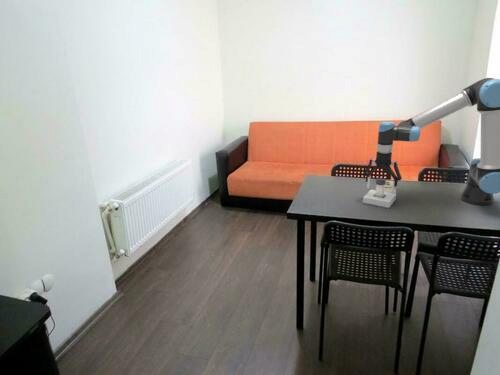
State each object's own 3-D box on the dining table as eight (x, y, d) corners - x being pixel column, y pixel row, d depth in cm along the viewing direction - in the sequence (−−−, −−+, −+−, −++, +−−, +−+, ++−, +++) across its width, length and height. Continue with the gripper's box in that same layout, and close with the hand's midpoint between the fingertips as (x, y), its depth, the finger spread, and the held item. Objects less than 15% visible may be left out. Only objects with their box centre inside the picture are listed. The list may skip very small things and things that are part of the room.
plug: (384, 199, 194) (386, 179, 189) (382, 202, 190) (384, 182, 186) (375, 198, 196) (377, 178, 192) (373, 201, 193) (375, 180, 188)
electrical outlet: (383, 190, 199) (380, 180, 215) (382, 197, 200) (379, 186, 216) (396, 191, 197) (393, 180, 213) (396, 197, 198) (392, 187, 214)
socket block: (395, 199, 195) (396, 193, 193) (388, 208, 184) (389, 202, 183) (370, 195, 202) (370, 189, 201) (362, 203, 192) (363, 197, 190)
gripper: (410, 152, 179) (405, 191, 187) (363, 147, 193) (360, 183, 200) (407, 156, 174) (402, 196, 181) (358, 150, 187) (355, 187, 195)
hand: (380, 189), depth 191 cm, fingers open, 12 cm apart
